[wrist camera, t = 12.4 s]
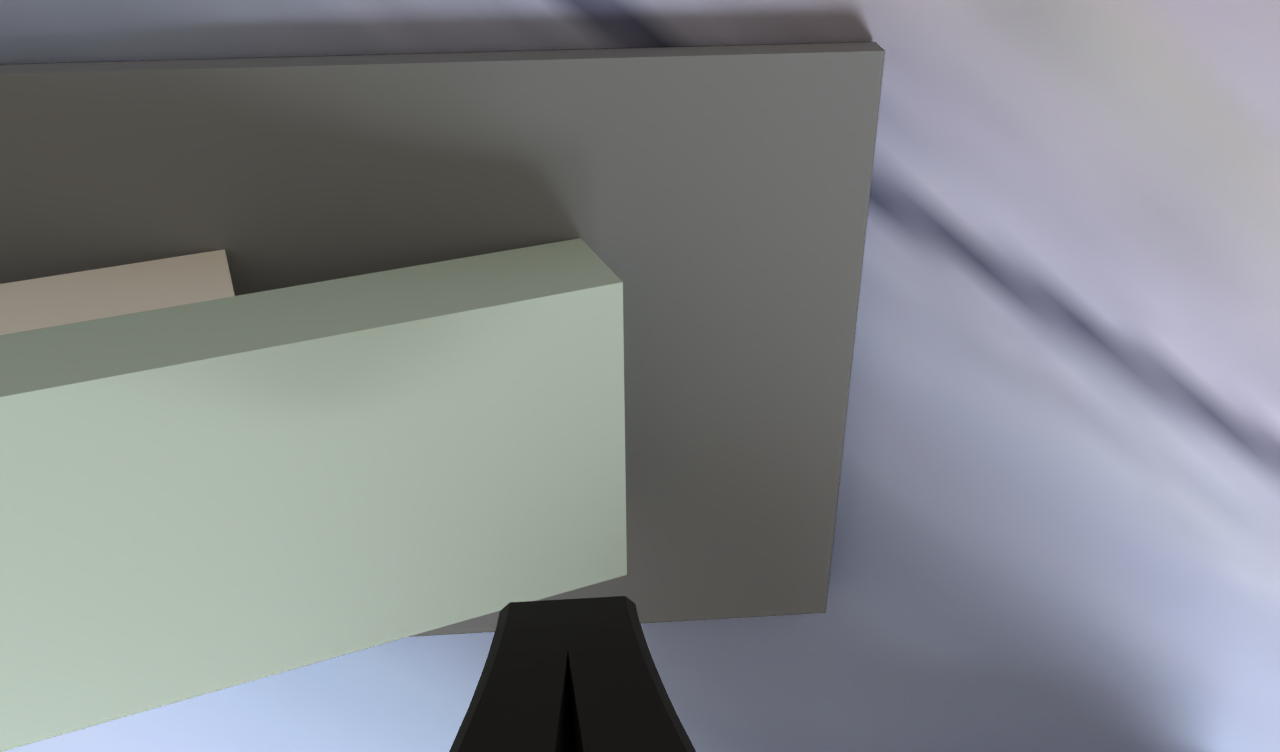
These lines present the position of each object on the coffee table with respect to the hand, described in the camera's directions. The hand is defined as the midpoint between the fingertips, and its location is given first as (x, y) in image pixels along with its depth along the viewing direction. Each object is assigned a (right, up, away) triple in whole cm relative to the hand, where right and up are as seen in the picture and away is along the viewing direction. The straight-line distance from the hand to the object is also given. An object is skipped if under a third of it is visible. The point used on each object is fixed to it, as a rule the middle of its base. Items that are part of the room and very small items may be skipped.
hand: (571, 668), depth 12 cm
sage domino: (0, +3, +5) cm, 5 cm away
